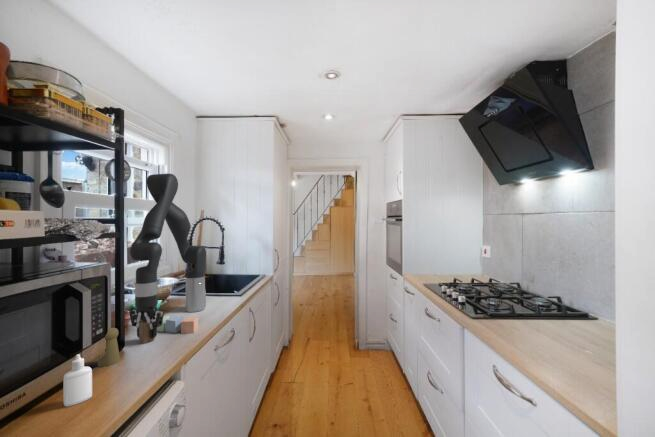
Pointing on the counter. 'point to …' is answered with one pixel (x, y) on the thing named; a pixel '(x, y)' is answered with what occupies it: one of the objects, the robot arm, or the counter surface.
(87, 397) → the eye dropper bottle
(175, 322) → the slate blue cube
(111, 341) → the olive pawn
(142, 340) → the wooden block
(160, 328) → the sage cube
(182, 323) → the terracotta cube
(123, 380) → the counter surface
